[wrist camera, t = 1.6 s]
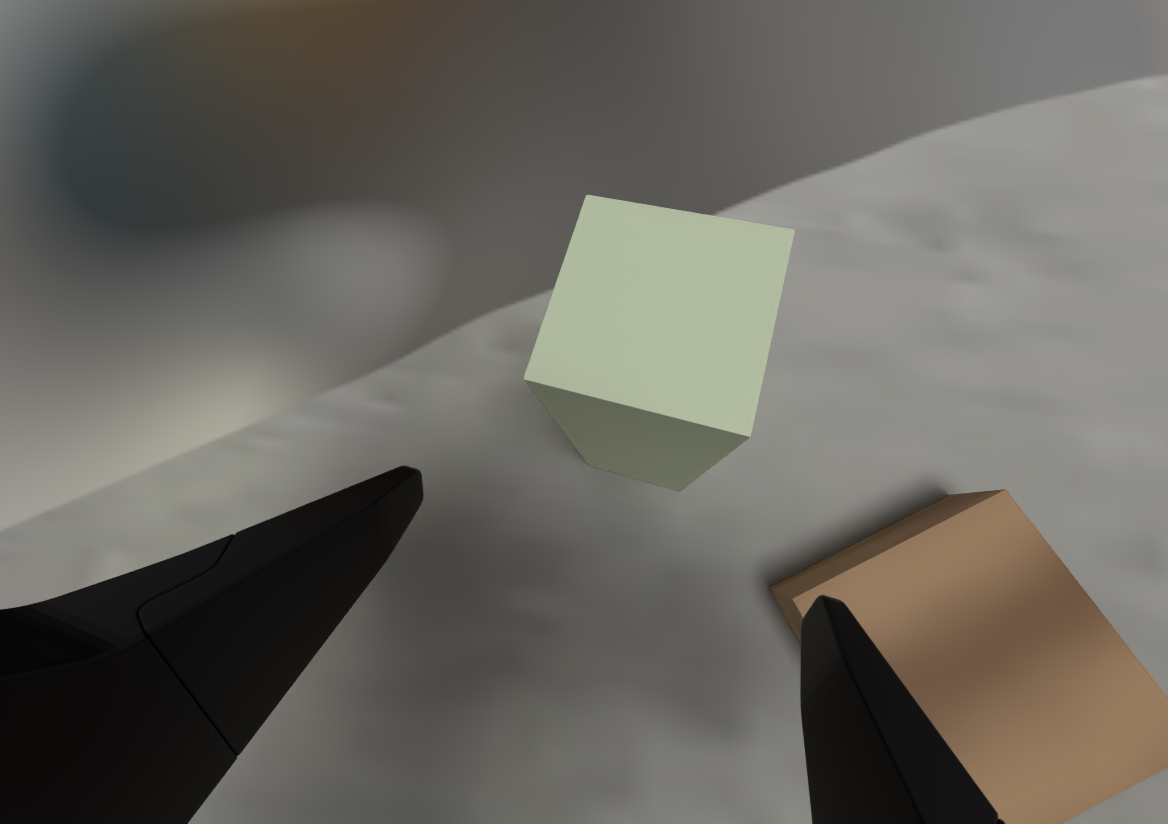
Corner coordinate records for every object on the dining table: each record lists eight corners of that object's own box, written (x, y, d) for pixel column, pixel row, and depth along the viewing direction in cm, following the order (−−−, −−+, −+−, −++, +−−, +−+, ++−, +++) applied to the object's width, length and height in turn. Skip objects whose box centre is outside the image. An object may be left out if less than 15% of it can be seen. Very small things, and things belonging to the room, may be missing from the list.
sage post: (680, 491, 20) (750, 437, 8) (588, 465, 21) (523, 379, 9) (701, 402, 21) (794, 229, 9) (613, 381, 22) (586, 194, 10)
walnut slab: (1107, 708, 17) (1206, 747, 14) (899, 817, 16) (955, 879, 14) (949, 494, 19) (1005, 489, 16) (768, 587, 19) (792, 598, 16)
